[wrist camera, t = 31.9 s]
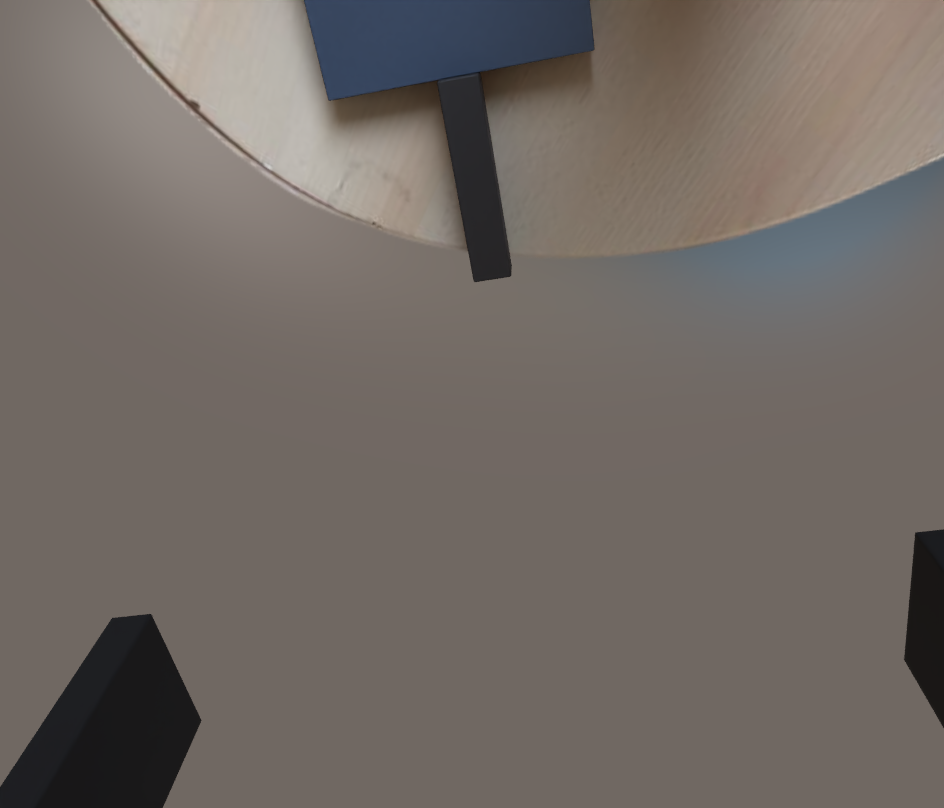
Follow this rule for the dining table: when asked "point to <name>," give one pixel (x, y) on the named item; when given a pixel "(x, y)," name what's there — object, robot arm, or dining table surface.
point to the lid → (449, 78)
